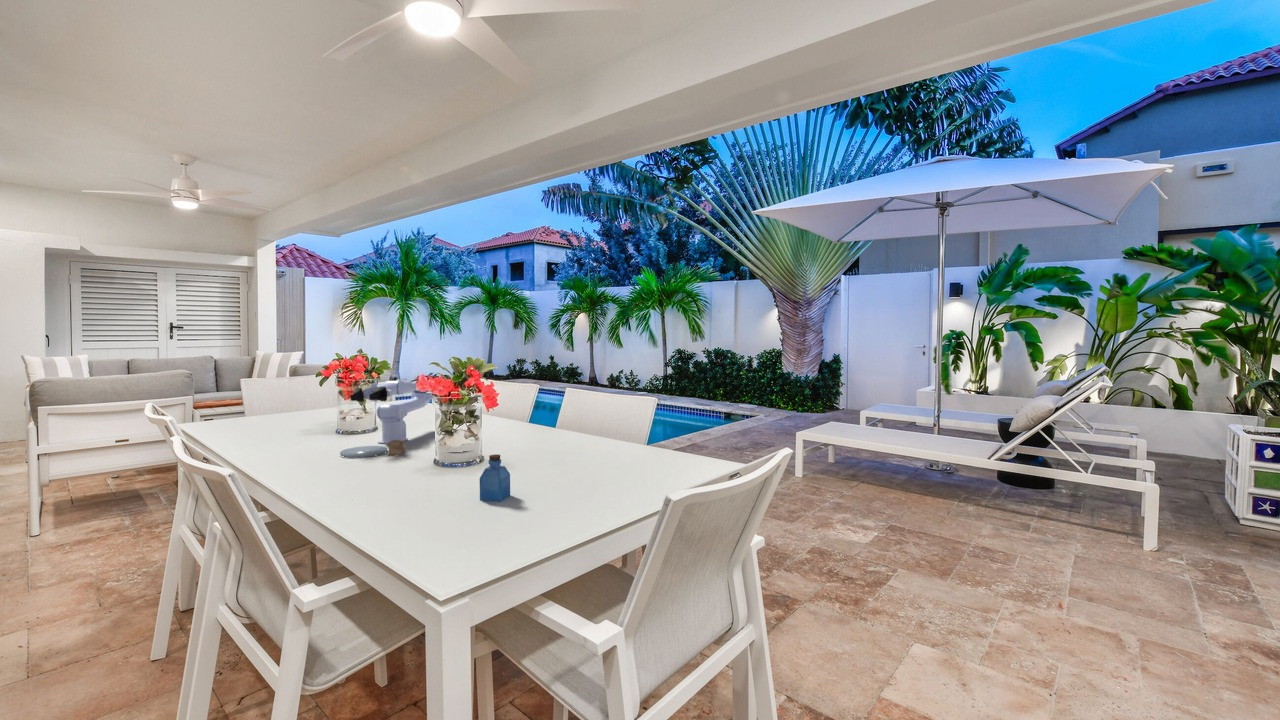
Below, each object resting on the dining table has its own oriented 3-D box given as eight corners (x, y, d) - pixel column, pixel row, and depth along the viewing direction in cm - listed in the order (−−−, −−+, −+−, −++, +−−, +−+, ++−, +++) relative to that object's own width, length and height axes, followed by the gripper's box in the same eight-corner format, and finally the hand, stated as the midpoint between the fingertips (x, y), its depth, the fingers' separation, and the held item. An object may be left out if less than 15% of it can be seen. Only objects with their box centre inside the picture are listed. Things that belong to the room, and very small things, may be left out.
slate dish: (359, 447, 220) (359, 445, 220) (396, 449, 217) (396, 446, 217) (329, 456, 204) (329, 454, 204) (369, 459, 201) (369, 456, 201)
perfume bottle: (500, 501, 154) (500, 458, 153) (479, 500, 155) (479, 457, 154) (510, 495, 160) (509, 453, 159) (490, 493, 161) (489, 452, 160)
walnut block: (395, 452, 212) (395, 439, 211) (404, 453, 211) (404, 440, 211) (388, 455, 208) (388, 441, 207) (398, 455, 207) (398, 442, 207)
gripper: (364, 382, 224) (341, 387, 210) (397, 380, 222) (377, 386, 208) (366, 399, 225) (344, 406, 211) (399, 398, 223) (379, 404, 209)
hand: (360, 397), depth 210 cm, fingers open, 7 cm apart
